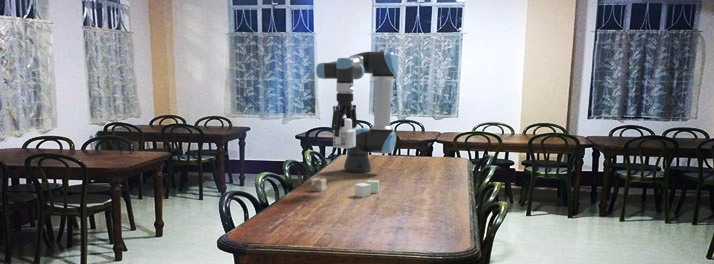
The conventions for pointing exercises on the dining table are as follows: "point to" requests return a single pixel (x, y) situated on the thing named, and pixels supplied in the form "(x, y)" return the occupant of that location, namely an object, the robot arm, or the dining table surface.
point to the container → (346, 135)
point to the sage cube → (374, 185)
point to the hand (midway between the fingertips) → (344, 142)
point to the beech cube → (318, 184)
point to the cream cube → (362, 190)
